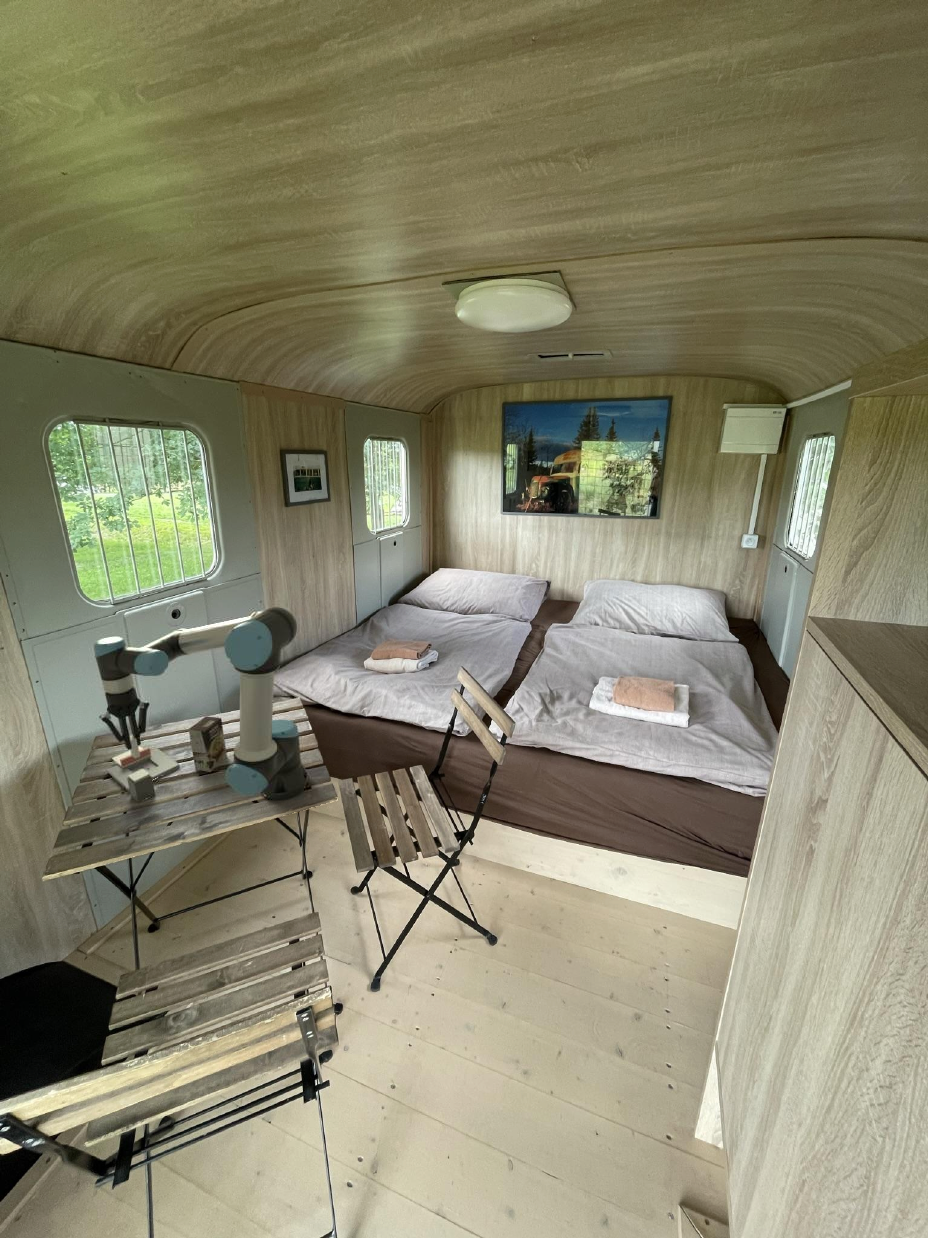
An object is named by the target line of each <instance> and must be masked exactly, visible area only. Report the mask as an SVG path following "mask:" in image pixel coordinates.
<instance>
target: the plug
mask: <svg viewBox="0 0 928 1238" xmlns="http://www.w3.org/2000/svg"><path fill="white" fill-rule="evenodd" d="M127 781H128V785H129V789H130V792H129V794H130V797H131V798H132V799H133V798H134V800H135V801H136V802H137V803H138V804H140V803H142V802H144V801H146V800H147V799H146V798H148V799H149V797H150V798H151V797H154V796H155V794H156V791H155V786H154V783H153V782H154V781H152V776H151V775H150V774H149V773H148V772H147V771H145V770H144V769H141V770H139V771H136V772H134V773H132V774H130V775H128V777H127ZM153 795H154V796H153ZM145 799H146V800H145ZM143 800H144V801H143ZM141 801H142V802H141Z"/></svg>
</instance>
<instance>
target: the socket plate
mask: <svg viewBox="0 0 928 1238" xmlns="http://www.w3.org/2000/svg"><path fill="white" fill-rule="evenodd" d="M150 753H151V756H149V757H147V758H145V759H143V760H140V761H138V762H136V763H134V764H132V765H129V766H127V767H125V768H122V767H121V766H120V765H118V764H116V765H114V766H112V767H109V768H107V769H106V773H107V772H108V773H109V774H110V775H111V776H112V777H113V778H112V777H111V776H110V775H109V774H108V773H107V774H108V775H109V776H110V777H111V778H112V779H113V780H115V782H117V783H118V784H119V783H120V784H121V785H122V786H121V785H120V784H119V785H120V786H121V787H123V788H124V787H125V788H124V789H125V790H126V791H127V792H128V793H130V789H129V785H128V781H127V777H128V775H130V774H132V773H134V772H136V771H139V770H141V769H144V770H145V771H147V772H148V773H149V774H150V775H151V776H152V780H153V779H155V778H157V777H160V776H161V775H164V774H166V775H168V774H170V773H172V772H175V771H176V770H178V769H181V765H180V764H179V763H178V762H177V761H175V760H174V759H173V758H171V756H168V755H167V754H165V753H164V752H163V751H162V750H160V749H159V748H158V747H155V748H152V749H150ZM169 772H170V773H169ZM167 773H168V774H167ZM164 776H165V775H164ZM160 778H161V777H160Z"/></svg>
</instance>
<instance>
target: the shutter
mask: <svg viewBox="0 0 928 1238" xmlns="http://www.w3.org/2000/svg"><path fill="white" fill-rule="evenodd" d="M138 749H139V753H140V757H137V758H134V757H133V756H132V755H131V751H130V750H127V751H125V752H122V753H121V754H118V755H116V756H113V757H112V760H113V762H115V763H116V765H120V766H121V767H122V768H125V767H127V766H129V765H132V764H134V763H136V762H138V761H140V760H143V759H145V758H147V757H149V756H151V753H150V750H151V749H150V747H145V748H143V747H142V746H141V745H139V746H138Z"/></svg>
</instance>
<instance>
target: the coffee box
mask: <svg viewBox="0 0 928 1238" xmlns="http://www.w3.org/2000/svg"><path fill="white" fill-rule="evenodd" d="M224 733H225V732H224V728H223V719H222V717H214V716H208V715H206V716H204V717H203V718H201V719H200V720H199V721H197V722H196V723H195V724H194V725H192V726H191V727H190V728H188V734H189V741H190V745H191V752H192V758H193V762H194V763H193V764H194V769H195V770H199V771H204V772H209V773H212V772H213V770H215V768H216V767H218V765H220V764H221V763H223V761H224V760H226V758H228V754H227V747H226V741H225V734H224Z"/></svg>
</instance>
